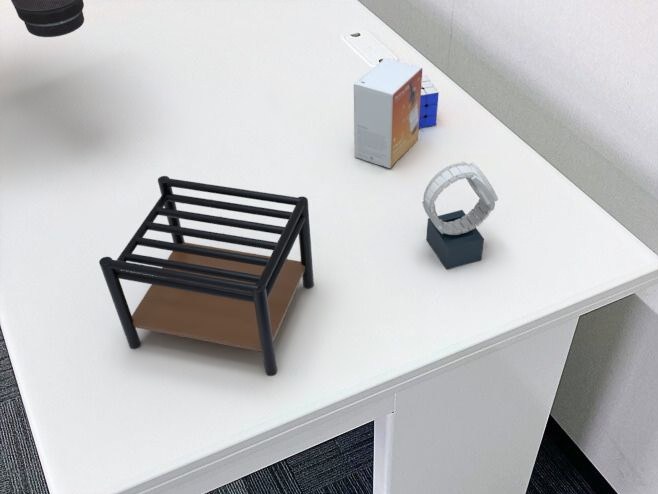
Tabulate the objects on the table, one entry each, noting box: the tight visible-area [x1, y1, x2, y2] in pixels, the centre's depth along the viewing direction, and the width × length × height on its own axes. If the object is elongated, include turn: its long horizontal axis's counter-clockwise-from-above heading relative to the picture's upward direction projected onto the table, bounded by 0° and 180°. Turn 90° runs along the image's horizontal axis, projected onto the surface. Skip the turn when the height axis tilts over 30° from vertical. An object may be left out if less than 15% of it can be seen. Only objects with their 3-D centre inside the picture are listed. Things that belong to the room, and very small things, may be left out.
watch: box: [421, 161, 499, 270], centre depth 81 cm, size 6×8×11 cm
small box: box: [353, 57, 423, 169], centre depth 95 cm, size 8×6×10 cm
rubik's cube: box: [418, 74, 439, 129], centre depth 102 cm, size 5×5×5 cm
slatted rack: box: [98, 175, 315, 376], centre depth 75 cm, size 16×14×12 cm
